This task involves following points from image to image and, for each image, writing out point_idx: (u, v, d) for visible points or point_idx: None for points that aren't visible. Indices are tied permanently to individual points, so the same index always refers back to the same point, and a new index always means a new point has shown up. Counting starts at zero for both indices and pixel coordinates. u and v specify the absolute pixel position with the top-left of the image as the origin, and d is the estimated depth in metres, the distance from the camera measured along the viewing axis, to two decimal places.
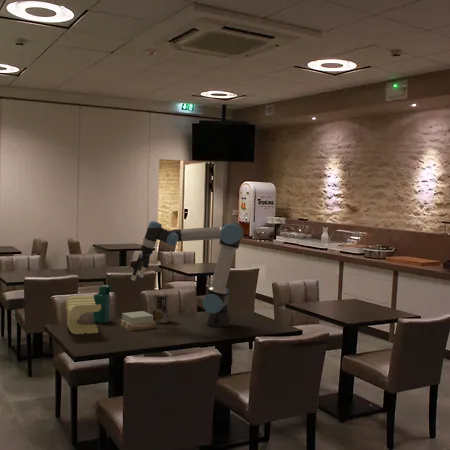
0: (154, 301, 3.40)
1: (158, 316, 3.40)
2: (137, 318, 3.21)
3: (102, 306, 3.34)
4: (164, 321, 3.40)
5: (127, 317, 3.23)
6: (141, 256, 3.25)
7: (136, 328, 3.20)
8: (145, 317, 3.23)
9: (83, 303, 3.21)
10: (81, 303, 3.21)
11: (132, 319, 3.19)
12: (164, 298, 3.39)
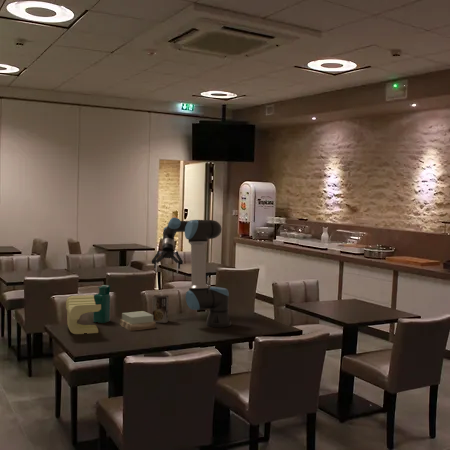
0: (154, 301, 3.40)
1: (158, 316, 3.40)
2: (137, 318, 3.21)
3: (102, 306, 3.34)
4: (164, 321, 3.40)
5: (127, 317, 3.23)
6: (157, 252, 3.63)
7: (136, 328, 3.19)
8: (145, 317, 3.23)
9: (83, 303, 3.21)
10: (81, 303, 3.21)
11: (132, 319, 3.19)
12: (164, 298, 3.39)
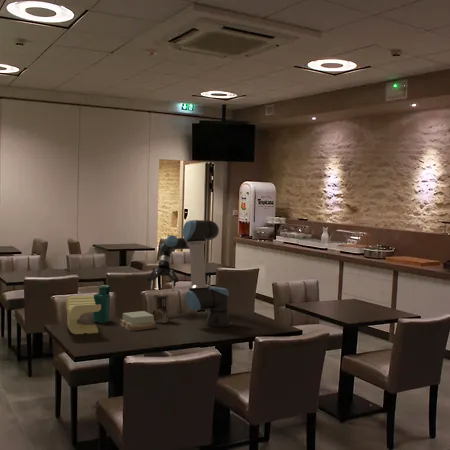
0: (154, 301, 3.40)
1: (158, 316, 3.40)
2: (138, 318, 3.21)
3: (102, 306, 3.34)
4: (164, 321, 3.40)
5: (128, 317, 3.23)
6: (153, 270, 3.63)
7: (136, 328, 3.19)
8: (146, 317, 3.23)
9: (83, 303, 3.21)
10: (81, 303, 3.21)
11: (133, 319, 3.19)
12: (164, 298, 3.39)
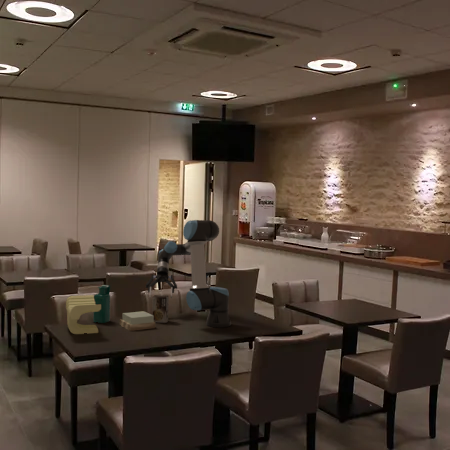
0: (154, 301, 3.40)
1: (158, 316, 3.40)
2: (137, 318, 3.20)
3: (102, 306, 3.34)
4: (164, 321, 3.40)
5: (127, 317, 3.23)
6: None
7: (136, 328, 3.19)
8: (145, 317, 3.23)
9: (83, 303, 3.21)
10: (81, 303, 3.21)
11: (132, 319, 3.19)
12: (164, 298, 3.39)
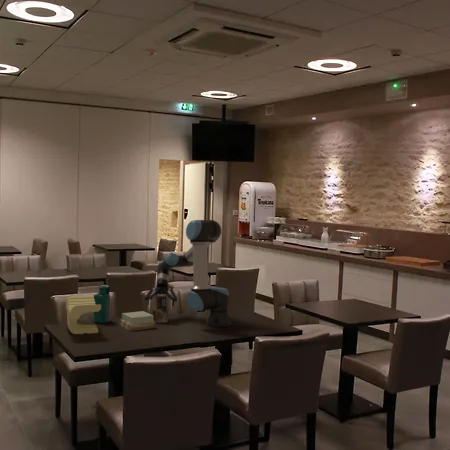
0: (154, 301, 3.40)
1: (158, 316, 3.40)
2: (137, 318, 3.20)
3: (102, 306, 3.34)
4: (164, 321, 3.40)
5: (127, 317, 3.23)
6: (151, 288, 3.51)
7: (136, 328, 3.19)
8: (145, 317, 3.23)
9: (83, 303, 3.21)
10: (81, 303, 3.21)
11: (132, 319, 3.19)
12: (164, 298, 3.39)
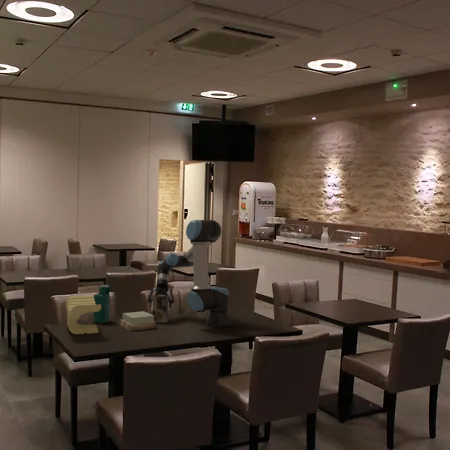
0: (154, 301, 3.40)
1: (158, 316, 3.40)
2: (138, 318, 3.20)
3: (102, 306, 3.34)
4: (164, 321, 3.40)
5: (128, 317, 3.23)
6: (151, 290, 3.50)
7: (136, 328, 3.19)
8: (146, 317, 3.23)
9: (83, 303, 3.21)
10: (81, 303, 3.21)
11: (133, 319, 3.18)
12: (164, 298, 3.39)
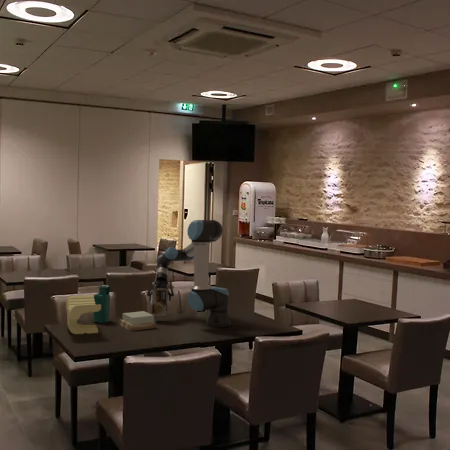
0: (154, 294, 3.40)
1: (158, 309, 3.40)
2: (138, 318, 3.20)
3: (102, 306, 3.34)
4: (164, 314, 3.40)
5: (128, 317, 3.23)
6: None
7: (136, 328, 3.20)
8: (146, 317, 3.23)
9: (83, 303, 3.21)
10: (81, 303, 3.21)
11: (133, 319, 3.19)
12: (164, 291, 3.40)
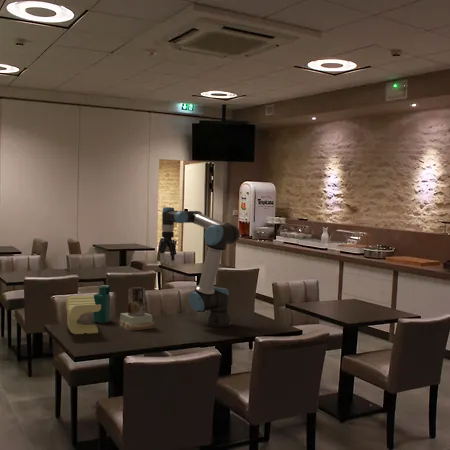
0: (130, 293, 3.24)
1: (134, 309, 3.24)
2: (137, 318, 3.21)
3: (102, 306, 3.34)
4: (140, 314, 3.24)
5: (126, 317, 3.23)
6: None
7: (135, 328, 3.19)
8: (144, 317, 3.24)
9: (83, 303, 3.21)
10: (81, 303, 3.21)
11: (132, 319, 3.19)
12: (140, 290, 3.24)
